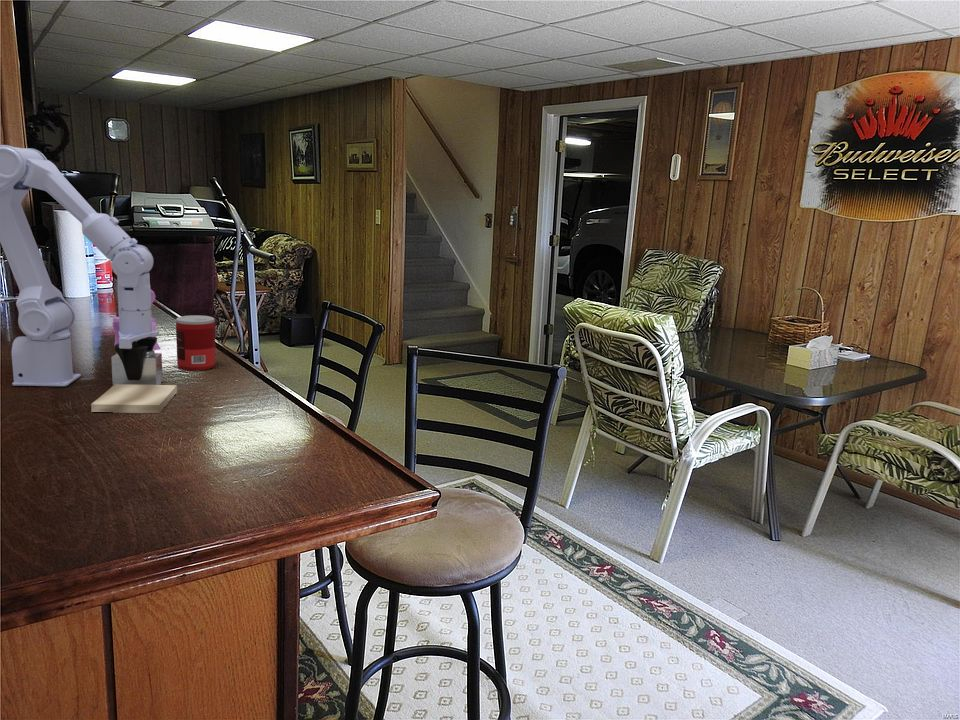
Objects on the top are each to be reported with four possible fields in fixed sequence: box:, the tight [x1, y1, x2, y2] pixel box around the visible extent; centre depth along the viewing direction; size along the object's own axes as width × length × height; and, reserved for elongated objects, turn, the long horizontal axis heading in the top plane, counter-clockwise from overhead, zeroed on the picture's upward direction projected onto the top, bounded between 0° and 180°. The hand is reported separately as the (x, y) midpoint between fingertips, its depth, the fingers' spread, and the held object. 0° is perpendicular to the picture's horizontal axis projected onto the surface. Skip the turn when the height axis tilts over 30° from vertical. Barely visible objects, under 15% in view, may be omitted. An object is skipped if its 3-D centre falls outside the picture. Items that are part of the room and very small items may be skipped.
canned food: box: [175, 314, 216, 372], centre depth 153 cm, size 8×8×11 cm
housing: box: [111, 350, 163, 387], centre depth 137 cm, size 8×4×7 cm, turn 100°
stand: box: [90, 384, 178, 414], centre depth 127 cm, size 11×13×2 cm
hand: (137, 376), depth 138 cm, fingers closed on housing, 4 cm apart
